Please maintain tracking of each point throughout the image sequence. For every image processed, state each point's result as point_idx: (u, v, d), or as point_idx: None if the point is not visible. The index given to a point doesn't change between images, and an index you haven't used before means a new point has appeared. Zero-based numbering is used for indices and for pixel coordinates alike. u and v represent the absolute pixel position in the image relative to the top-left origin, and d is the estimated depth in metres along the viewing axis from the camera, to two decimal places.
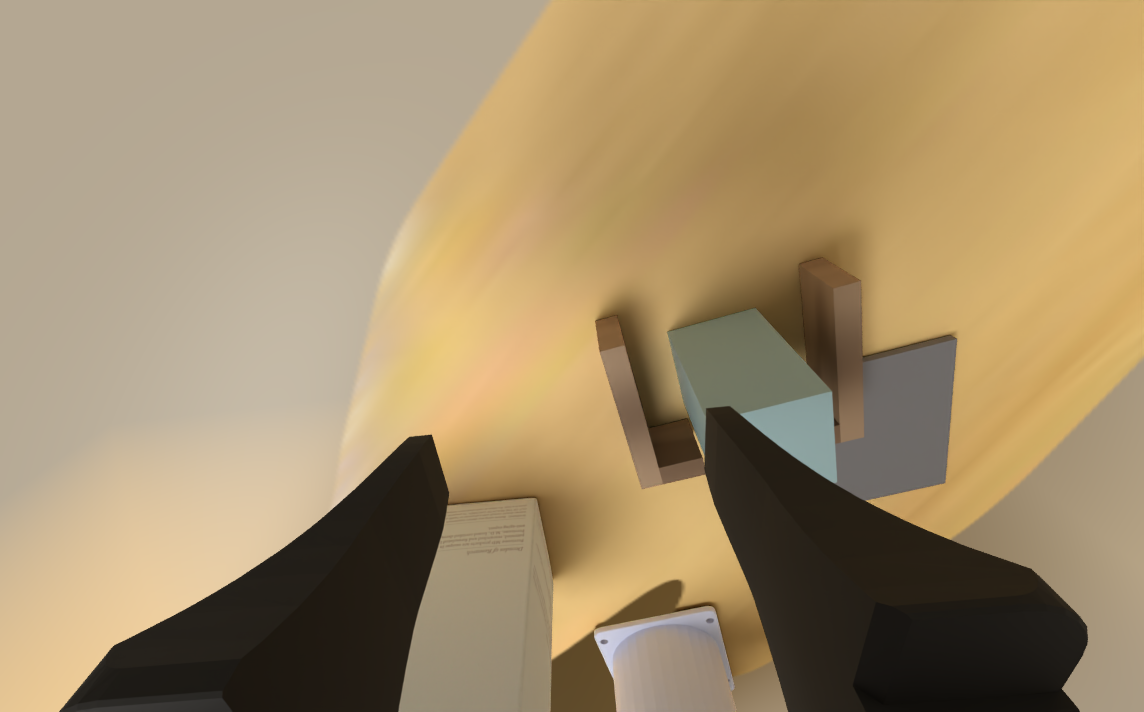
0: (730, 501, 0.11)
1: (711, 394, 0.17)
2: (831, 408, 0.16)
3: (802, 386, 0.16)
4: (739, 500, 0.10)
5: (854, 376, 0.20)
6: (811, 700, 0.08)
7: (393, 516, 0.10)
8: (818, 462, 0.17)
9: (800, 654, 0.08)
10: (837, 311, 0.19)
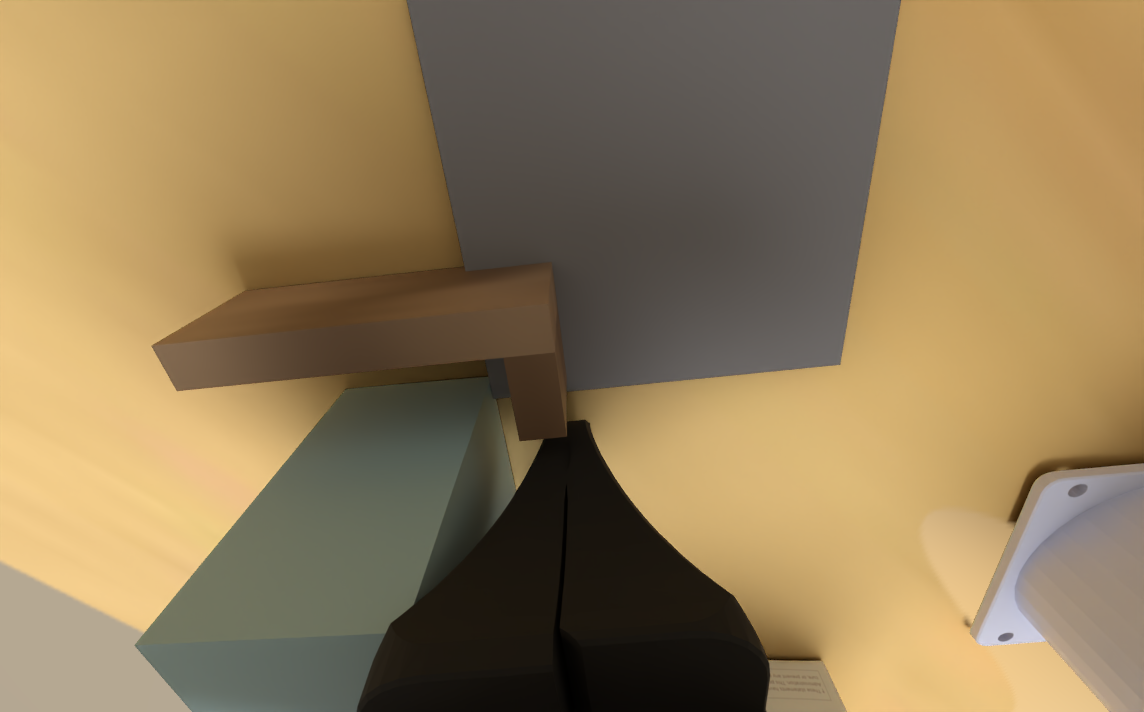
0: None
1: None
2: (188, 636, 0.07)
3: None
4: None
5: (374, 338, 0.09)
6: None
7: None
8: (338, 660, 0.07)
9: None
10: (223, 381, 0.10)
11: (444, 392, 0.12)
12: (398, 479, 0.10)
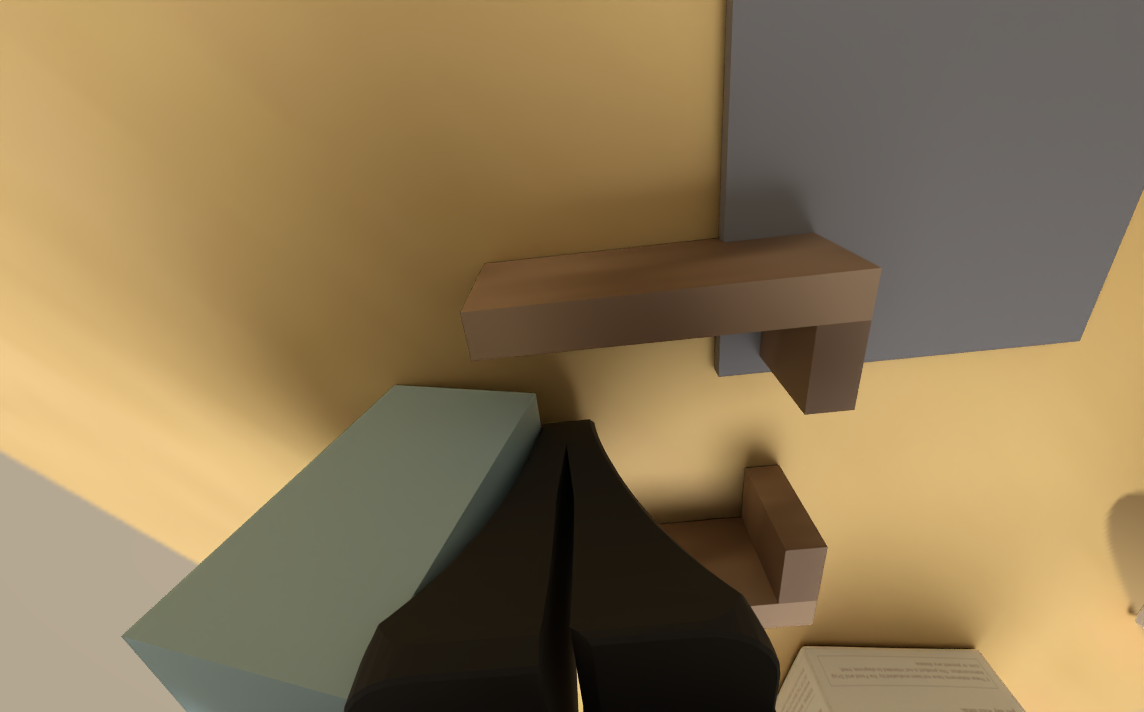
0: None
1: None
2: (165, 639, 0.07)
3: None
4: None
5: (691, 305, 0.09)
6: None
7: (562, 501, 0.10)
8: (292, 703, 0.07)
9: None
10: (522, 351, 0.09)
11: (483, 404, 0.12)
12: (406, 500, 0.09)
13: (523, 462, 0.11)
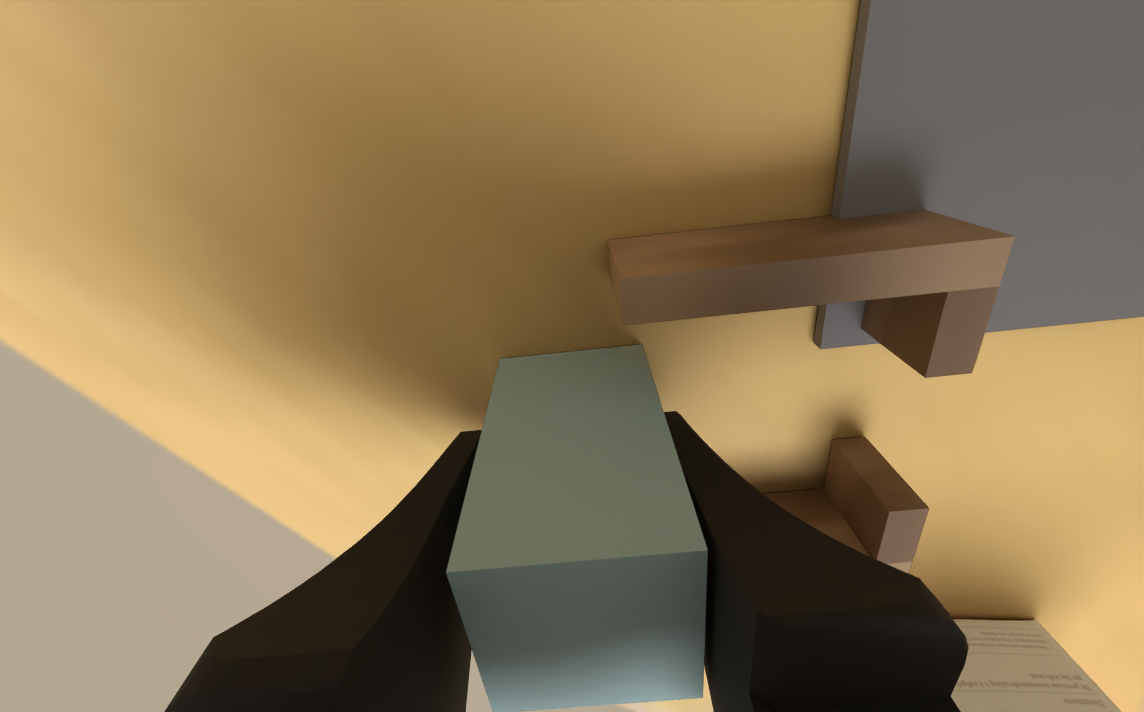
0: None
1: None
2: (495, 563, 0.08)
3: None
4: None
5: (834, 272, 0.10)
6: (727, 706, 0.08)
7: (457, 510, 0.10)
8: (633, 581, 0.08)
9: (719, 660, 0.08)
10: (672, 316, 0.10)
11: (603, 358, 0.13)
12: (610, 431, 0.10)
13: None
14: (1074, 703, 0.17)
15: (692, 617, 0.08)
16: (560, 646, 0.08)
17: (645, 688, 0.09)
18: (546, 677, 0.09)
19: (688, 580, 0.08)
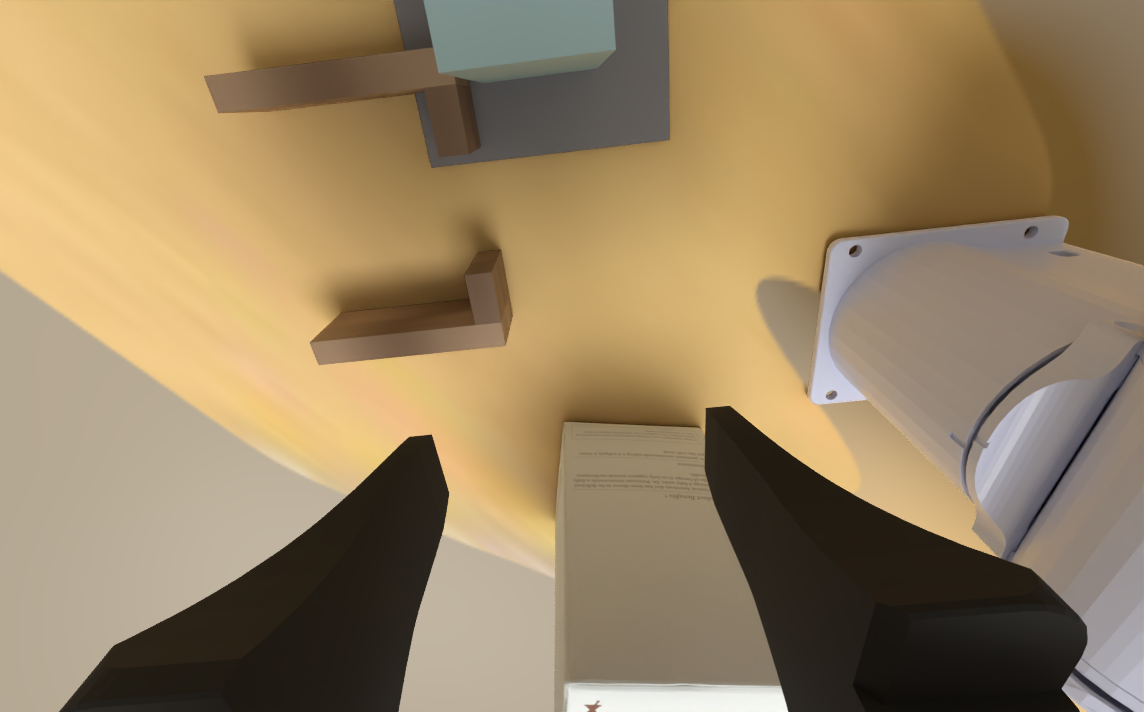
0: (730, 501, 0.11)
1: None
2: None
3: None
4: (739, 500, 0.10)
5: (342, 72, 0.15)
6: (810, 701, 0.08)
7: (393, 516, 0.10)
8: None
9: (800, 654, 0.08)
10: (248, 105, 0.15)
11: None
12: None
13: None
14: (684, 465, 0.22)
15: None
16: None
17: (565, 31, 0.11)
18: (480, 10, 0.10)
19: None
